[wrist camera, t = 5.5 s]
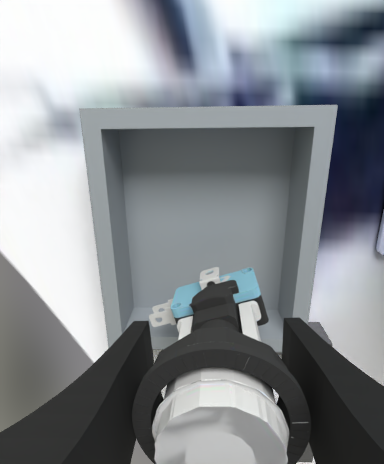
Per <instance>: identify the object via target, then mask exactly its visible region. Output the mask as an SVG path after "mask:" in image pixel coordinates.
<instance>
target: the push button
mask: <svg viewBox="0 0 384 464" xmlns="http://www.w3.org/2000/svg"><path fill="white" fill-rule="evenodd" d="M209 272H213V273H211V274H209V275H206V274H207V273H209ZM160 308H163V309H165V311H162V312H159V311H158V310H159V309H160ZM152 310H153V312H154V314H150V315H149V319H150V321H151V324H152V326H153V327H157V326H161V325H165V324H169V323H171V325H175V324H177V329H178V332H179V338H178V341H177V342H175V343H173V344H172V345H170V346H168V347H167V348H165V349H163V350H162V351H161V352H160V353H159V355H158V357H157V359H156V361H155V363H154V365H153V366H152V367H151V368H150V369H149V370H148V372H147V373H146V374H145V376H144V377H143V379H142V381H141V383H140V385H139V387H138V390H137V393H136V396H135V399H134V403H133V409H132V423H133V429H134V432H135V435H136V438H137V440H138V443H139V444H140V446H141V448H142V449H143V451H144V452H145V454H146V455H147V456H148V458H149V459H150V460H151V461H152V462H153V463H154V464H296V463H297V462H298V460H299V459H300V458H301V456H302V455H303V453H304V451H305V449H306V447H307V445H308V442H309V438H310V433H311V417H310V411H309V408H308V404H307V402H306V399H305V396H304V394H303V391H302V389H301V387H300V385H299V384H298V382H297V380H296V379H295V378H294V376H293V375H292V374H291V373H290V372H289V371H288V369H287V367H286V365H285V364H284V362H283V361H282V360H281V358H280V357H279V356H278V355H277V353H276V352H275V351H274V349H273V348H272V347H271V346H269V345H267V344H265V343H263V342H261V338H260V334H259V330H258V326H261V325H264V324H266V323H268V321H269V319H268V315H267V312H266V309H265V305H264V302H263V299H262V295H261V292H260V289H259V286H258V282H257V279H256V276H255V273H254V269H253V268H245V269H242V270H240V271H236V272H233V273H229V274H225V275H222V276H219V267H215V268H211V269H207V270H204V271H202V272H201V273H200V281H199V282H196V283H192V284H189V285H185V286H181V287H179V288H177V289H176V291H175V295H174V298H173V299H170V300H168V303H164V304H161V305H157V306H153V308H152ZM155 318H162V321H161V322H157V321H156V319H155ZM166 385H167V388H166V393H165V398H164V399H163V397H162V394H161V390H162V389H163V388H164V387H165V386H166ZM272 388H273V389H274V390H275V391H276V392H277V393H278V394H279V398H278V401H277V404H276V402H275V398H274V394H273V390H272Z"/></svg>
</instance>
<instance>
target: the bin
mask: <svg viewBox="0 0 384 464" xmlns="http://www.w3.org/2000/svg"><path fill="white" fill-rule="evenodd" d="M337 107H338V105H297V106H228V107H158V108H89V109H79V110H80V118H81V126H82V134H83V143H84V151H85V159H86V167H87V175H88V183H89V191H90V200H91V208H92V216H93V224H94V232H95V240H96V248H97V256H98V265H99V273H100V281H101V289H102V297H103V305H104V313H105V322H106V330H107V338H108V346H109V348H110V347H111V346H112V344H113V343H114V342H115V341H116V340H117V339H118V338H119V337H120V336H121V335H122V333H123V332H124V331H125V330H126V329H127V328H128V327H129V326H130V325H131V323H132V322H133V321H149V326H150V335H151V343H152V349H165V348H167V347H168V346H170V345H172V344H173V343H175V342H177V341H178V338H179V332H178V329H177V324H175V325H171V323H169V324H165V325H161V326H157V327H153V326H152V324H151V321H150V319H149V315H150V314H154V312H153V310H152V308H153V306H157V305H161V304H164V303H168V300H170V299H173V298H174V295H175V291H176V289H177V288H179V287H181V286H185V285H189V284H192V283H196V282H199V281H200V273H201V272H202V271H204V270H207V269H211V268H215V267H219V276H222V275H225V274H229V273H233V272H236V271H240V270H242V269H245V268H253V269H254V273H255V276H256V279H257V282H258V286H259V289H260V292H261V295H262V299H263V302H264V305H265V309H266V312H267V315H268V319H269V321H268V323H266V324H264V325H261V326H258V330H259V334H260V338H261V342H263V343H265V344H267V345H269V346H271V347H272V348H273V349H274V351H275V352H282V343H283V323H284V318H298V317H300V318H301V319H302V320H303V321H304V322H305V323H306V324H307V325H308V319H309V312H310V304H311V297H312V290H313V282H314V275H315V268H316V261H317V253H318V246H319V239H320V231H321V224H322V217H323V209H324V202H325V195H326V187H327V180H328V173H329V165H330V158H331V151H332V143H333V136H334V129H335V122H336V114H337ZM211 273H213V272H209V273H207V274H206V275H209V274H211ZM158 311H159V312H162V311H165V309H163V308H160V309H159V310H158ZM155 319H156V321H157V322H161V321H162V318H155Z"/></svg>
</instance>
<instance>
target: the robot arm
mask: <svg viewBox="0 0 384 464" xmlns="http://www.w3.org/2000/svg"><path fill="white" fill-rule="evenodd" d="M376 250H377V252H378V253H380V254H381V255H384V211H383V216H382V221H381V226H380V230H379V235H378V240H377V245H376ZM282 361H283V362H284V364H285V365H286V367H287V369H288V371H289V372H290V373H291V374H292V375H293V376H294V378H295V379H296V380H297V382H298V384H299V385H300V387H301V389H302V391H303V394H304V396H305V399H306V402H307V404H308V408H309V411H310V417H311V433H310V438H309V444H310V447H311V450H312V453H313V456H314V459H315V462H316V464H384V386H382V385H381V384H379V383H378V382H377V381H375V380H374V379H372V378H371V377H369V376H368V375H367V374H365V373H364V372H362V371H361V370H360V369H359V368H357V367H356V366H355V365H353V364H352V363H351V362H350V361H348V360H347V359H346V358H345V357H343V356H342V355H341V354H340V353H339V352H337V351H336V350H335V349H334V348H333V347H332V346H330V345H329V344H328V343H327V342H326V341H325V340H324V339H322V338H321V337H320V336H319V335H318V334H317V333H316V332H315V331H314V330H313V329H312V328H311V327H309V326H308V325H307V324H306V323H305V322H304V321H303V320H302V319H301V318H300V317H298V318H284V323H283V343H282ZM153 364H154V360H153V351H152V343H151V335H150V326H149V321H133V322H132V323H131V325H130V326H129V327H128V328H127V329H126V330H125V331H124V332H123V333H122V335H121V336H120V337H119V338H118V339H117V340H116V341H115V342H114V343H113V344H112V346H111V347H110V348H109V349H108V350H107V351H106V352H105V353H104V354H103V355H102V356H101V357H100V358H99V359H98V360H97V361H96V362H95V363H94V364H93V365H92V366H91V367H90V368H89V369H88V370H87V371H86V372H85V373H83V374H82V375H81V376H80V377H79V378H78V379H76V380H75V381H74V382H73V383H72V384H70V385H69V386H68V387H67V388H66V389H64V390H63V391H62V392H60V393H59V394H58V395H56V396H55V397H54V398H52V399H51V400H50V401H48V402H47V403H45V404H44V405H42V406H41V407H40V408H38V409H37V410H36V411H34V412H33V413H31V414H30V415H28V416H26V417H25V418H23V419H22V420H20V421H19V422H17V423H15V424H14V425H12V426H10V427H9V428H7V429H5V430H4V431H2V432H0V464H130V463H131V458H132V454H133V449H134V445H135V441H136V435H135V432H134V429H133V423H132V409H133V403H134V399H135V396H136V393H137V390H138V387H139V385H140V383H141V381H142V379H143V377H144V376H145V374H146V373H147V372H148V370H149V369H150V368H151V367H152V366H153Z"/></svg>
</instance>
